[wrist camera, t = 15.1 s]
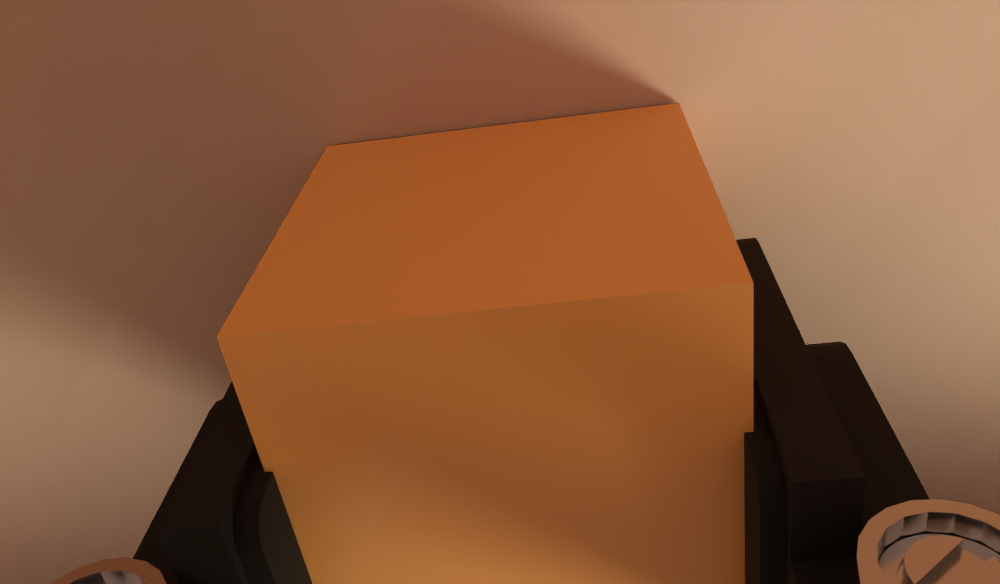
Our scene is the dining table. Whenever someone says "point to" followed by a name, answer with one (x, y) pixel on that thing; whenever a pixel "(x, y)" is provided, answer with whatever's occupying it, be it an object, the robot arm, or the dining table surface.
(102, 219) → the dining table surface
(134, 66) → the dining table surface
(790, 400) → the robot arm
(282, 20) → the dining table surface
